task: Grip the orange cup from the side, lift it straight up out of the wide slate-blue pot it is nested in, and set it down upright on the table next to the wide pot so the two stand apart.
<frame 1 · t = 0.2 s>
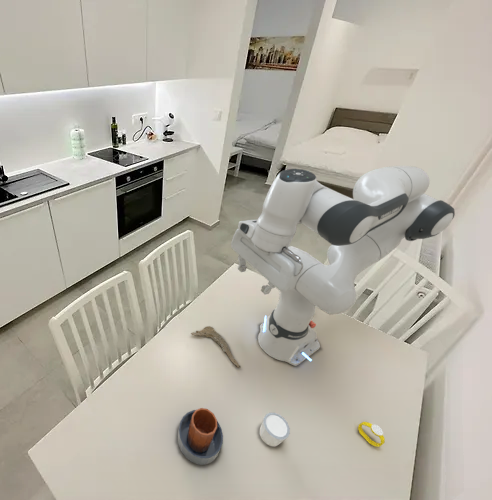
hand: (252, 281, 76), 40 cm above the table, tool pointing down, fingers open, 8 cm apart
white cylinder: (269, 436, 82), on the table
wide pot: (198, 440, 81), on the table, touching orange cup
jawbone: (213, 350, 105), on the table
orange cup: (198, 439, 80), point 1 cm above the table, touching wide pot
watch: (365, 438, 82), on the table
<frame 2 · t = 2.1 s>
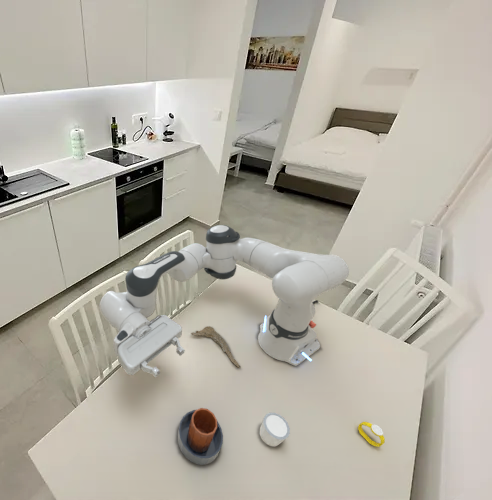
hand: (170, 363, 75), 23 cm above the table, tool horizontal, fingers open, 8 cm apart
nothing on the table moved.
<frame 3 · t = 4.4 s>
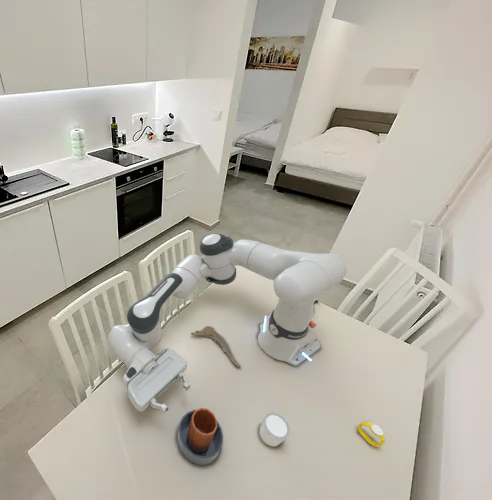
hand: (178, 399, 80), 10 cm above the table, tool horizontal, fingers open, 8 cm apart
nothing on the table moved.
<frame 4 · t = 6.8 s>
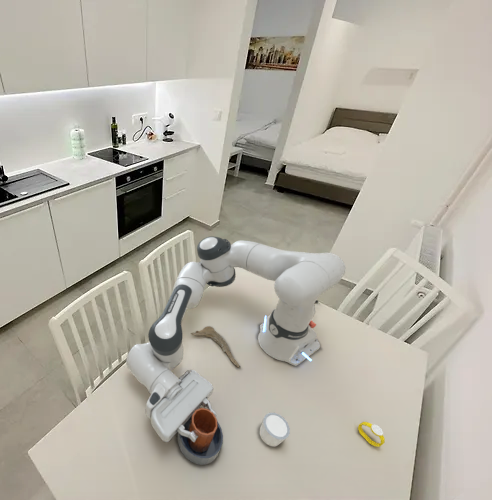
hand: (205, 428, 74), 10 cm above the table, tool horizontal, fingers closed on orange cup, 6 cm apart
orange cup: (198, 439, 80), point 1 cm above the table, touching gripper, wide pot
everything else where it was.
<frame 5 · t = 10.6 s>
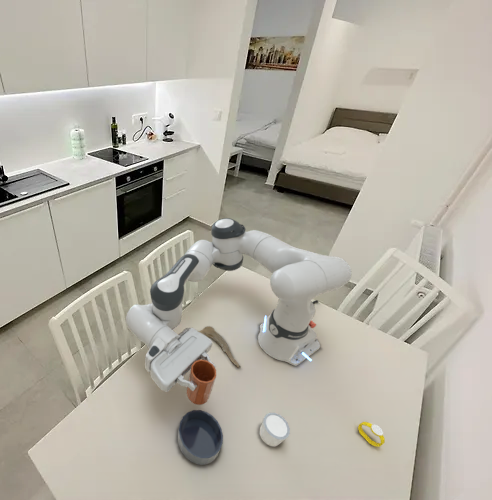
hand: (204, 378, 75), 20 cm above the table, tool horizontal, fingers closed on orange cup, 6 cm apart
wide pot: (198, 440, 81), on the table
orange cup: (197, 393, 81), point 11 cm above the table, touching gripper
everything else where it was.
when the fingers open (9 cm above the table, at t = 14.7 s): orange cup stays where it is, on the table.
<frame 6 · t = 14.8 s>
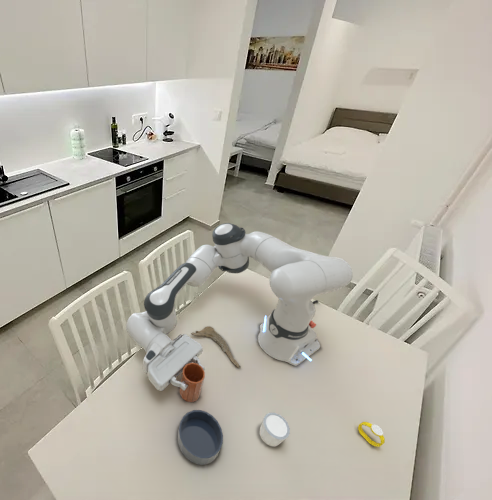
hand: (195, 379, 85), 9 cm above the table, tool horizontal, fingers open, 7 cm apart
orange cup: (189, 392, 92), on the table
everything else where it was.
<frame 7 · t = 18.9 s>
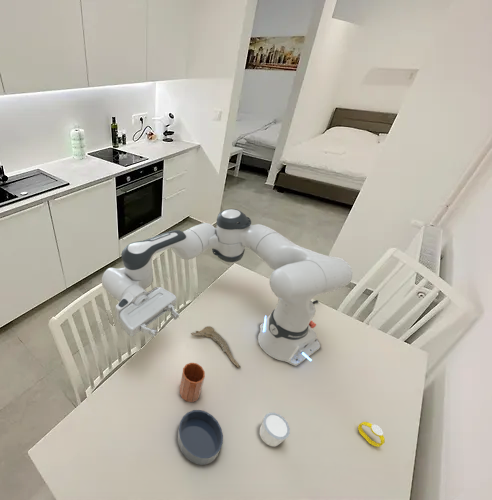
hand: (166, 325, 85), 23 cm above the table, tool horizontal, fingers open, 8 cm apart
nothing on the table moved.
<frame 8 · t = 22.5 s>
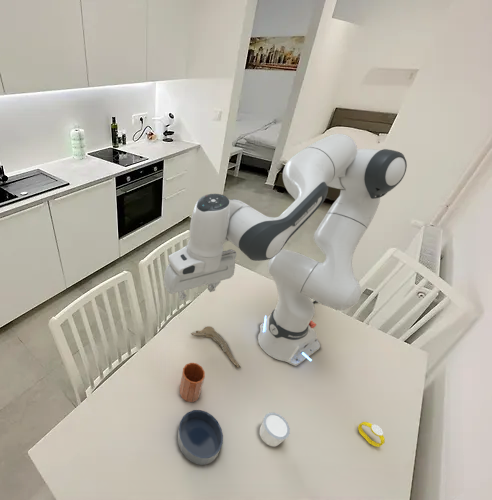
hand: (196, 294, 81), 33 cm above the table, tool pointing down, fingers open, 8 cm apart
nothing on the table moved.
at the end: orange cup inside the target area (0.0 cm from its centre), on the table; orange cup tilted 0°; wide pot moved 0.0 cm from its start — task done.
